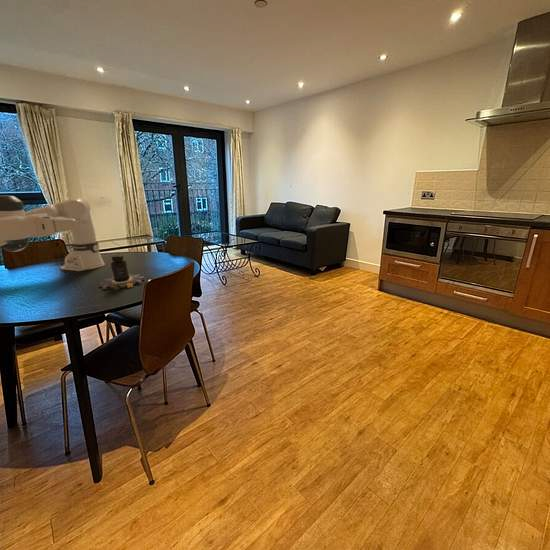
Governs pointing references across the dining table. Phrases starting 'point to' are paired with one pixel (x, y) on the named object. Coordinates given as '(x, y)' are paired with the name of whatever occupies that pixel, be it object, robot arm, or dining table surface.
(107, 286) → the sprocket plate
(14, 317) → the dining table surface
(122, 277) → the supplement bottle
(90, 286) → the dining table surface
